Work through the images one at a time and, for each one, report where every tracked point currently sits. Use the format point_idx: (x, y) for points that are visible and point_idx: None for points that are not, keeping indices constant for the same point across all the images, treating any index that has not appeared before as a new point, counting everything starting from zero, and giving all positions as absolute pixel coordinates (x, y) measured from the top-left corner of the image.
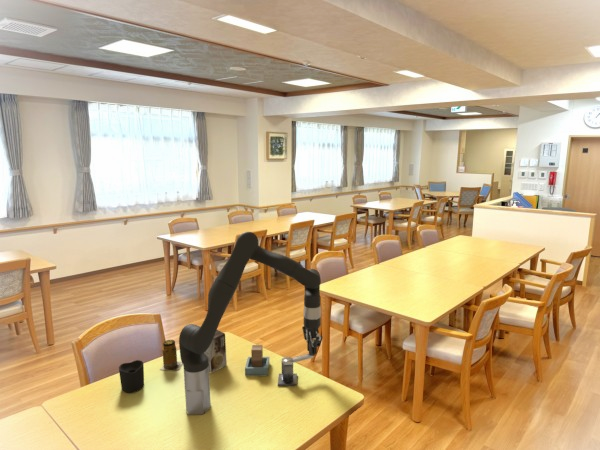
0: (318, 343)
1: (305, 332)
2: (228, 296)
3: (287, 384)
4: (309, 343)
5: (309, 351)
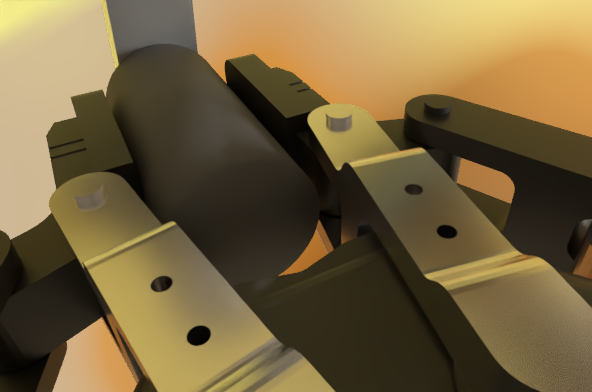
0: (24, 375)
1: (560, 194)
2: None
3: None
4: (220, 149)
5: (166, 70)
